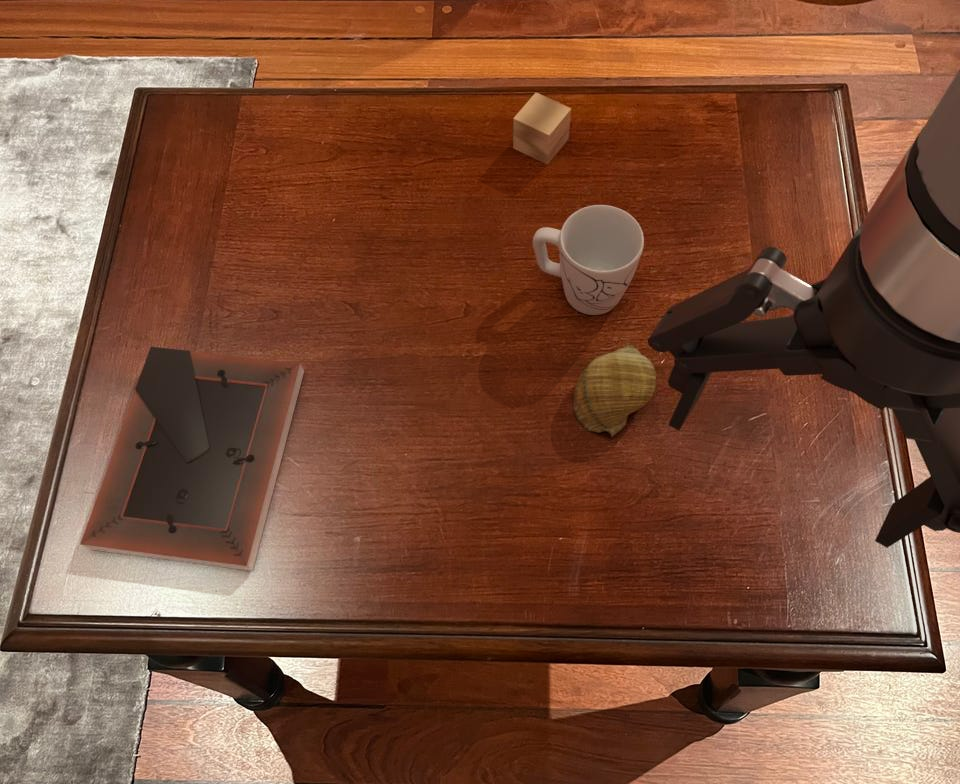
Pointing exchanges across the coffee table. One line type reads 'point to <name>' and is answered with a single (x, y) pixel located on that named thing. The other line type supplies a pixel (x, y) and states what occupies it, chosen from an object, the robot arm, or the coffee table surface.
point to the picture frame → (196, 459)
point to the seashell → (613, 389)
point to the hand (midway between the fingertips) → (782, 466)
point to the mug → (593, 256)
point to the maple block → (541, 128)
